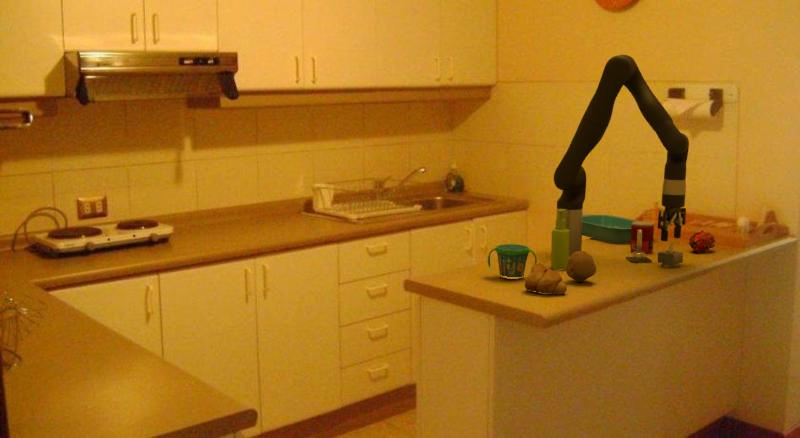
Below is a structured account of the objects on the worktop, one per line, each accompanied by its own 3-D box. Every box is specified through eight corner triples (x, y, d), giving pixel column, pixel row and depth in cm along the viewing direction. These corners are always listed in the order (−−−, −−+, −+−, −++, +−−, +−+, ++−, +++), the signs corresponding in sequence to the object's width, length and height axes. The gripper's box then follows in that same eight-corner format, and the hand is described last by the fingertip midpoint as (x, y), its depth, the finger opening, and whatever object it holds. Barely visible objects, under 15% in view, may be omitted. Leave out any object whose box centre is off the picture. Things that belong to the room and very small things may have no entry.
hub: (665, 267, 287) (666, 244, 286) (660, 264, 292) (661, 241, 291) (680, 267, 287) (681, 244, 286) (674, 264, 292) (676, 241, 291)
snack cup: (538, 275, 276) (539, 245, 274) (533, 283, 266) (534, 251, 264) (491, 272, 281) (491, 242, 279) (484, 279, 271) (485, 248, 269)
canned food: (653, 254, 309) (654, 225, 307) (630, 254, 310) (632, 224, 309) (651, 250, 316) (653, 221, 314) (629, 250, 318) (630, 221, 316)
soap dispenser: (571, 266, 290) (572, 208, 287) (566, 270, 284) (567, 211, 280) (554, 264, 292) (555, 207, 289) (549, 268, 286) (550, 210, 283)
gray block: (673, 264, 285) (674, 254, 285) (657, 262, 290) (657, 252, 289) (682, 262, 289) (683, 252, 289) (666, 259, 294) (667, 249, 293)
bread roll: (572, 293, 253) (573, 267, 251) (554, 299, 246) (555, 272, 245) (536, 286, 261) (537, 261, 260) (518, 292, 255) (518, 266, 253)
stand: (631, 263, 295) (633, 231, 293) (625, 258, 301) (626, 228, 300) (651, 262, 295) (653, 231, 293) (645, 258, 302) (646, 228, 300)
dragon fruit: (712, 254, 317) (694, 263, 310) (695, 238, 321) (677, 247, 314) (724, 238, 312) (706, 247, 305) (707, 222, 316) (688, 231, 309)
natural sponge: (601, 282, 266) (602, 251, 265) (585, 287, 260) (586, 255, 258) (577, 277, 273) (578, 247, 271) (561, 282, 266) (561, 251, 265)
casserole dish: (664, 242, 334) (665, 224, 333) (621, 247, 324) (621, 229, 323) (602, 228, 366) (602, 212, 365) (560, 233, 356) (561, 216, 355)
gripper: (673, 195, 278) (669, 243, 281) (694, 191, 288) (691, 238, 291) (652, 193, 284) (649, 240, 287) (674, 189, 293) (671, 235, 296)
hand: (670, 239), depth 289 cm, fingers open, 8 cm apart
